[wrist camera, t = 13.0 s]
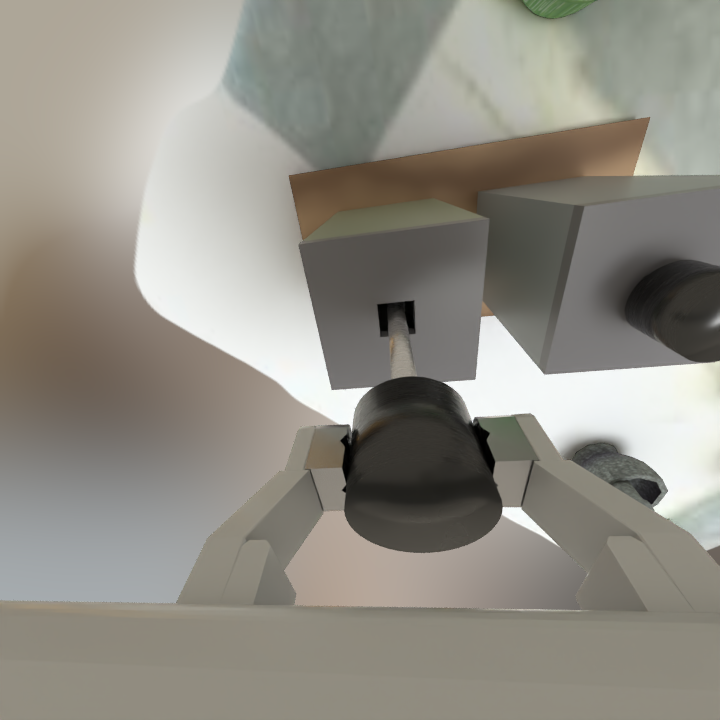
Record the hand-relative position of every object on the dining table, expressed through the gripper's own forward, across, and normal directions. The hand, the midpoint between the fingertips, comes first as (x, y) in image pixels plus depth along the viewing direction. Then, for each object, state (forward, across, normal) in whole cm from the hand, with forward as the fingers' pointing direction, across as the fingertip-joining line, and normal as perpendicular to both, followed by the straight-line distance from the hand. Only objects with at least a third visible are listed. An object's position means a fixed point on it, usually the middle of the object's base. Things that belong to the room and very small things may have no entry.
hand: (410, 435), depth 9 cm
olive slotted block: (+25, 0, 0) cm, 25 cm away
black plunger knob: (+18, 0, 0) cm, 18 cm away
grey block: (+25, -13, 0) cm, 28 cm away
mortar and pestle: (+27, -29, +34) cm, 52 cm away
